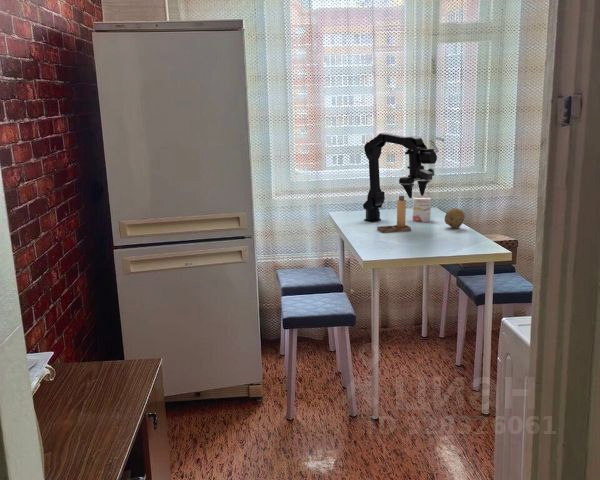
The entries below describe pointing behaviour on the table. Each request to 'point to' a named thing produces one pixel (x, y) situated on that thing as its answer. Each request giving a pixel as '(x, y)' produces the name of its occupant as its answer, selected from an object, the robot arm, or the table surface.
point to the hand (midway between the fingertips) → (416, 196)
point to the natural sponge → (454, 218)
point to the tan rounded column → (401, 212)
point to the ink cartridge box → (421, 207)
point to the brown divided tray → (393, 229)
